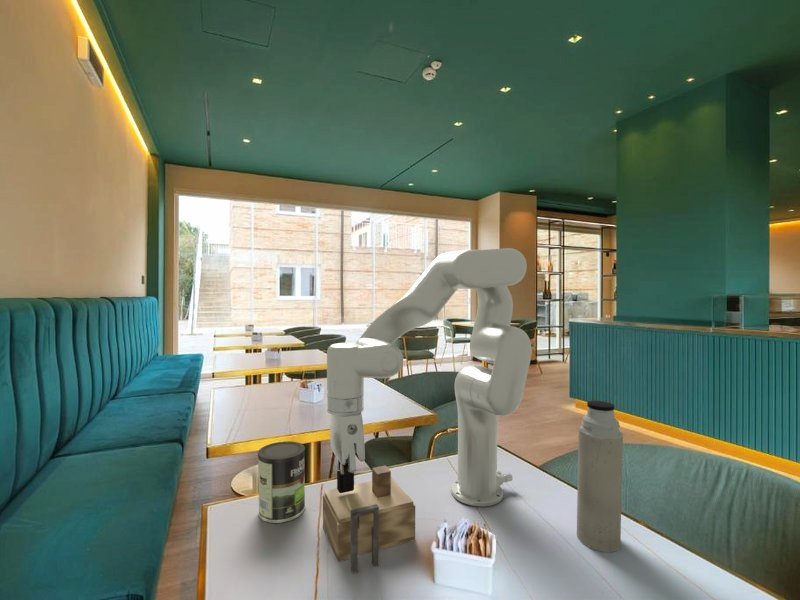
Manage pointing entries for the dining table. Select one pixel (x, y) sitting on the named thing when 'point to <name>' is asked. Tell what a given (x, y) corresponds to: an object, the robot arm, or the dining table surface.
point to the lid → (371, 495)
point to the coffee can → (281, 481)
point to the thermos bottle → (599, 478)
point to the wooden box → (368, 532)
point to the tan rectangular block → (354, 503)
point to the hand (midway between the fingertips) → (345, 490)
